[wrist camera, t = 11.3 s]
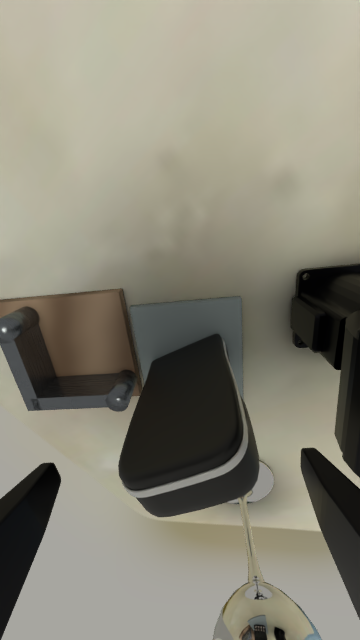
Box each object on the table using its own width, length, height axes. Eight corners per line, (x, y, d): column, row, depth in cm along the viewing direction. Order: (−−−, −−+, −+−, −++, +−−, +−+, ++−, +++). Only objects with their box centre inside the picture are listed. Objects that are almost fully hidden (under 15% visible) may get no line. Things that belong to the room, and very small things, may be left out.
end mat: (240, 296, 20) (241, 298, 19) (242, 405, 24) (243, 409, 23) (131, 305, 20) (129, 307, 20) (151, 409, 24) (150, 413, 24)
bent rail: (120, 297, 19) (107, 311, 16) (139, 385, 22) (130, 410, 19) (15, 307, 20) (-17, 321, 17) (46, 390, 23) (24, 415, 20)
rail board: (122, 288, 20) (118, 291, 19) (142, 389, 24) (139, 395, 23) (-2, 300, 21) (-11, 303, 20) (36, 394, 25) (29, 401, 24)
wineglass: (193, 489, 29) (189, 984, 10) (222, 445, 26) (291, 1023, 7) (253, 509, 29) (353, 1008, 11) (288, 468, 26) (507, 1052, 8)
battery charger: (168, 392, 23) (145, 539, 12) (148, 360, 22) (102, 492, 11) (238, 364, 21) (280, 506, 11) (220, 328, 20) (247, 447, 9)
